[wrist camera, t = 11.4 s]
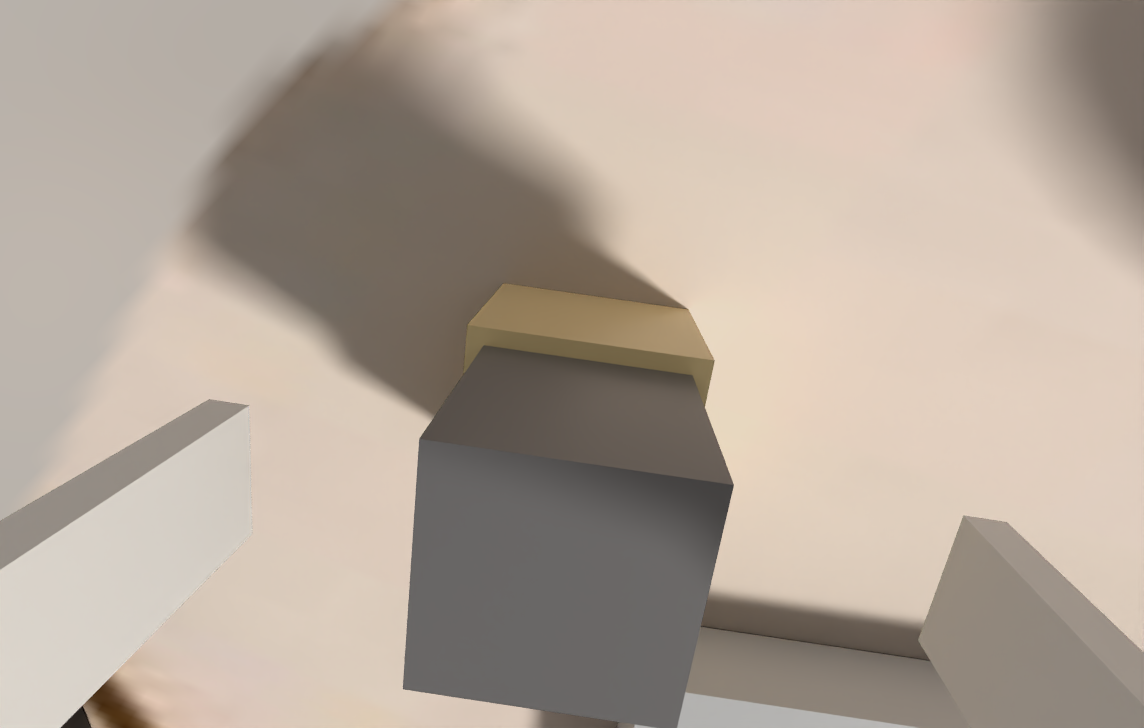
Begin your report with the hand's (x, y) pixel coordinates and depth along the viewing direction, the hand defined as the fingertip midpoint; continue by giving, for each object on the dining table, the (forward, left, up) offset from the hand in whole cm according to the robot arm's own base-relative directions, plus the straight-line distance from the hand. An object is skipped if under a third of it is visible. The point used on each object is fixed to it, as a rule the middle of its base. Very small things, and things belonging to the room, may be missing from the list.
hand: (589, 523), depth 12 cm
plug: (0, 0, -8) cm, 8 cm away
